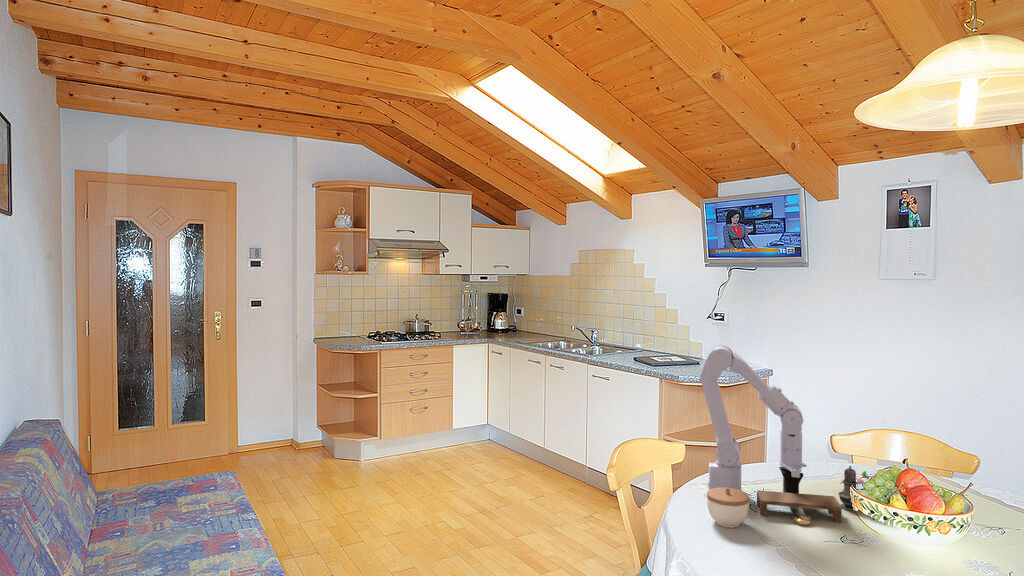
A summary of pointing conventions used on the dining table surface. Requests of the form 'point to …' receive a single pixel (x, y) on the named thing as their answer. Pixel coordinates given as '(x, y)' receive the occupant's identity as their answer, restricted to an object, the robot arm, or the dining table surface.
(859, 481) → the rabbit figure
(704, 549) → the dining table surface
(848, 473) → the salt shaker
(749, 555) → the dining table surface
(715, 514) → the lidded jar
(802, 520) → the brass token
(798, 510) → the scraper tool
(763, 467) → the dining table surface
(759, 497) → the low shelf
